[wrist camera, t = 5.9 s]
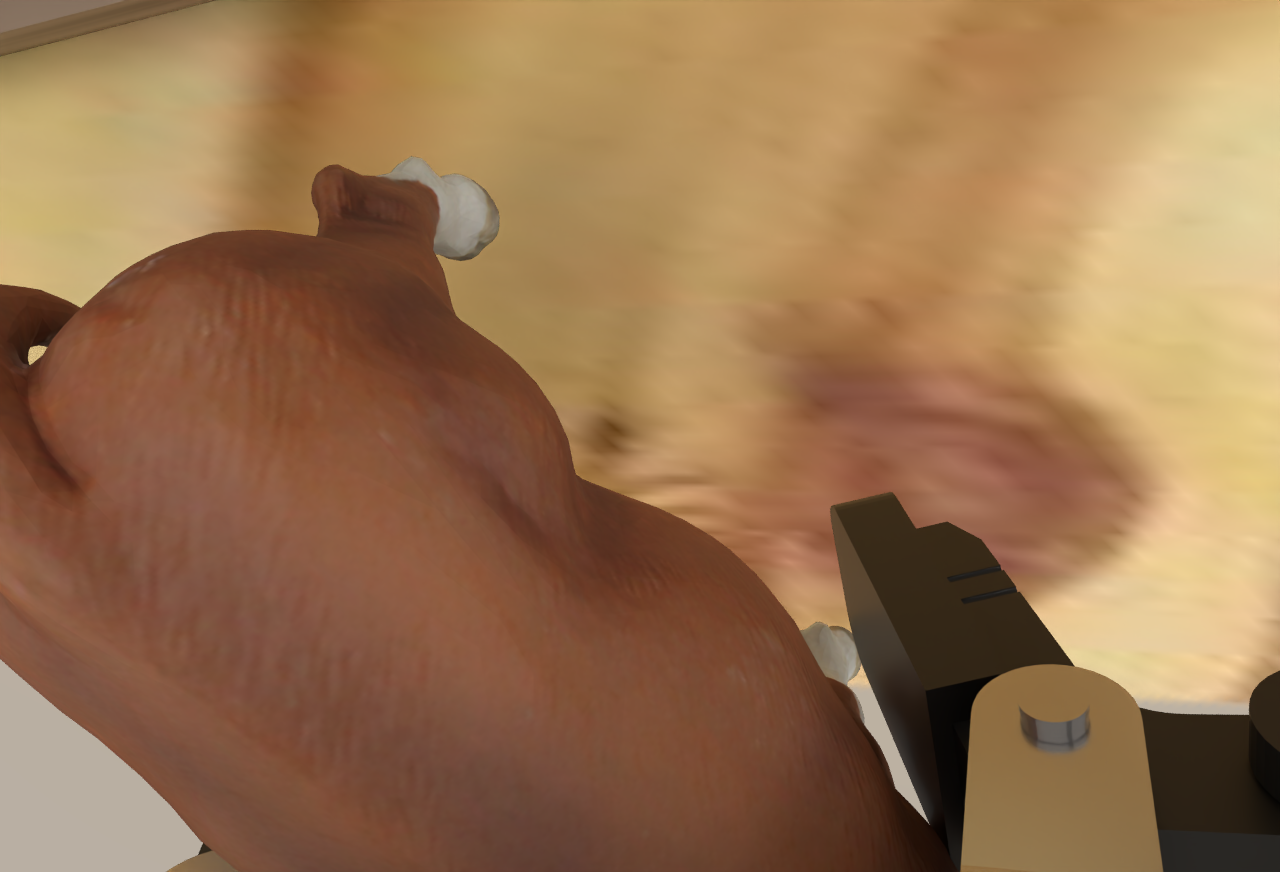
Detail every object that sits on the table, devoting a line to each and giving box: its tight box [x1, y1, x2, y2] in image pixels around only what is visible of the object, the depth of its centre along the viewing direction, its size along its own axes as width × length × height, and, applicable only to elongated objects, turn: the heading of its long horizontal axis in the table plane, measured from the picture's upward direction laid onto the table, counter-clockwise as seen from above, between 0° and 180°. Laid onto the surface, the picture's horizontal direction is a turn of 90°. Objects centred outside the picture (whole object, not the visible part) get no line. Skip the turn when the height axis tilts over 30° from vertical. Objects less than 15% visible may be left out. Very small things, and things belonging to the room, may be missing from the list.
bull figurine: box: [0, 156, 958, 872], centre depth 10 cm, size 4×14×8 cm, turn 33°
